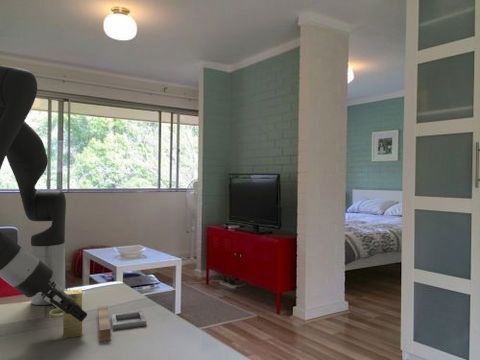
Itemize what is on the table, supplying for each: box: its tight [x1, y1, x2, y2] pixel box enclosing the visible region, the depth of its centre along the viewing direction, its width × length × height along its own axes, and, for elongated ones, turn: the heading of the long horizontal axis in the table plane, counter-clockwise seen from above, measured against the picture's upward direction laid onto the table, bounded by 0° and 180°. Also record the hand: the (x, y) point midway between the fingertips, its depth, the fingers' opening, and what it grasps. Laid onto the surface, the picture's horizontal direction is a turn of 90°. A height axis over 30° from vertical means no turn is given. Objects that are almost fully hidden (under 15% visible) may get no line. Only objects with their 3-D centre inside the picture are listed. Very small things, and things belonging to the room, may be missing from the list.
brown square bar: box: [97, 305, 112, 342], centre depth 101 cm, size 18×2×2 cm, turn 20°
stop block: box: [62, 288, 83, 339], centre depth 96 cm, size 4×4×10 cm
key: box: [48, 302, 63, 318], centre depth 113 cm, size 7×12×2 cm, turn 54°
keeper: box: [110, 310, 147, 331], centre depth 104 cm, size 8×8×1 cm
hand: (81, 314), depth 97 cm, fingers closed on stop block, 5 cm apart
